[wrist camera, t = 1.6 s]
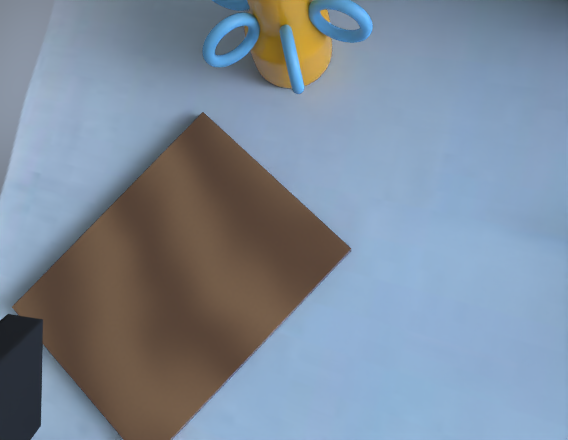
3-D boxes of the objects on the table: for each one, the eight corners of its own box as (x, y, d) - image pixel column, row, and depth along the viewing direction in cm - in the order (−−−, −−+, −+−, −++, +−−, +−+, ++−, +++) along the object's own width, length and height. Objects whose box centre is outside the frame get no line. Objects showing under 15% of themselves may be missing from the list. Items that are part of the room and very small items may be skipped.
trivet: (206, 116, 40) (202, 111, 39) (351, 250, 37) (351, 248, 36) (19, 307, 39) (11, 306, 38) (151, 461, 36) (145, 465, 35)
